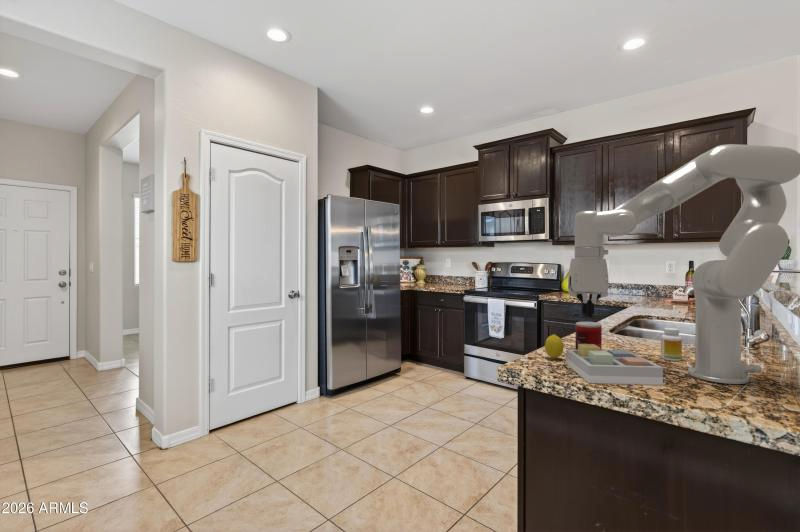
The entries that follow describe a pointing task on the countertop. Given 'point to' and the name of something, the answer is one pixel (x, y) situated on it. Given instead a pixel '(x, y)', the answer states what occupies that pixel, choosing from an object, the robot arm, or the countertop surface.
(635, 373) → the keypad
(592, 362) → the key sage
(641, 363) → the key terracotta
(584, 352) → the key mustard
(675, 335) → the supplement bottle
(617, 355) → the key slate
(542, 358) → the countertop surface
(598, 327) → the canned food
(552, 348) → the lemon
